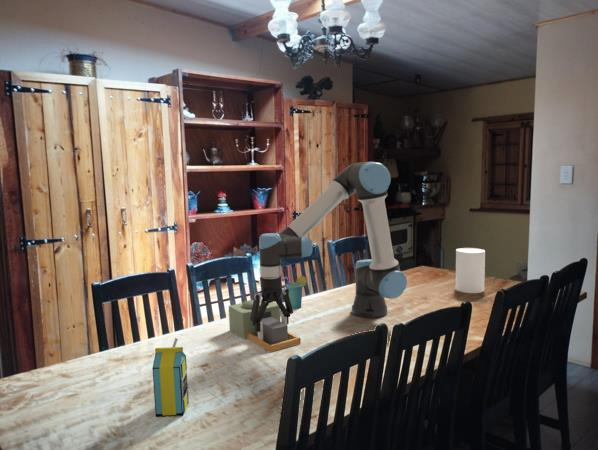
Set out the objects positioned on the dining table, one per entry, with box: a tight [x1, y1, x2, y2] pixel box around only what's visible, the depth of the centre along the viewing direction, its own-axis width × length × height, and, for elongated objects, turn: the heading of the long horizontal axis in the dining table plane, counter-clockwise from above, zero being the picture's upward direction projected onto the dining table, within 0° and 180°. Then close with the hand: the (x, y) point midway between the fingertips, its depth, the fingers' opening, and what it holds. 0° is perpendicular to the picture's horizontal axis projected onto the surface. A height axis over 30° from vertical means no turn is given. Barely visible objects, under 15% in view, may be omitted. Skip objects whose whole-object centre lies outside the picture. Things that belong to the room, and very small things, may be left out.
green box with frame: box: [228, 298, 302, 353], centre depth 172 cm, size 16×28×11 cm, turn 34°
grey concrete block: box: [261, 317, 289, 345], centre depth 168 cm, size 6×12×7 cm, turn 31°
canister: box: [455, 247, 486, 294], centre depth 229 cm, size 14×14×20 cm
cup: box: [281, 275, 308, 310], centre depth 206 cm, size 14×8×15 cm, turn 127°
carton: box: [151, 337, 189, 418], centre depth 121 cm, size 7×8×18 cm
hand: (272, 336), depth 168 cm, fingers open, 9 cm apart
